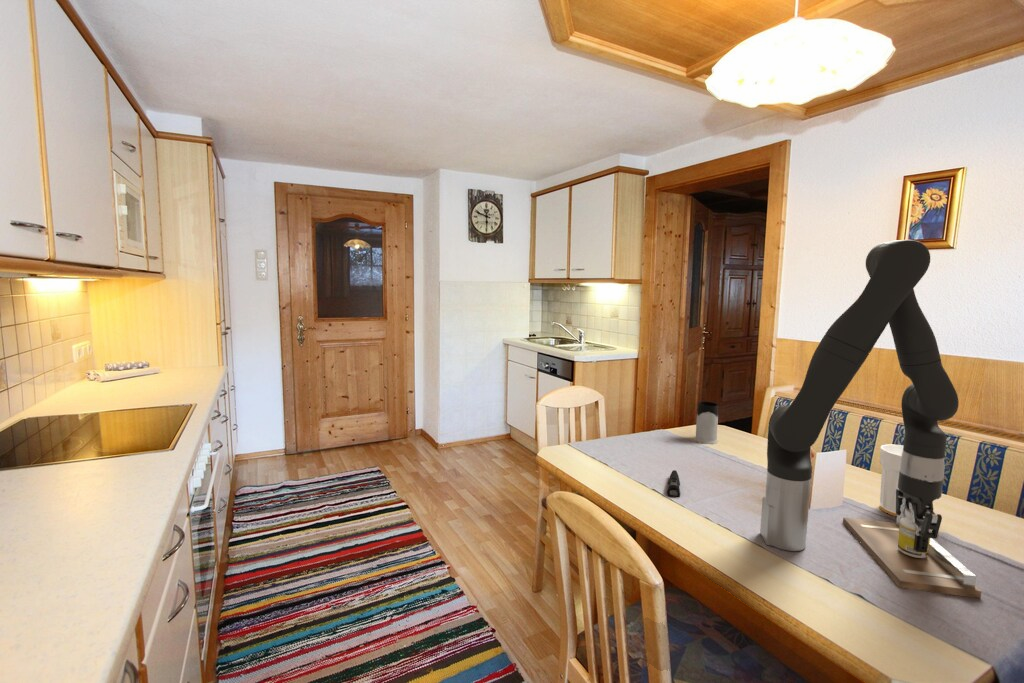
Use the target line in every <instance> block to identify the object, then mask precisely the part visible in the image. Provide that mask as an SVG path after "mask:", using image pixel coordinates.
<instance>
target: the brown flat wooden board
mask: <svg viewBox="0 0 1024 683" xmlns="http://www.w3.org/2000/svg"><path fill="white" fill-rule="evenodd" d="M842 523H843V525H844V526H845V527H846V528H847V529H848V530H849V532H850V533H851V532H852V533H853V534H852V533H851V534H852V535H853V536H854V537H855V538H856V540H857V541H858V540H859V541H860V542H861V543H860V542H859V541H858V542H859V543H860V545H862V546H863V547H864V549H865V550H866V551H867V552H868V553H869V555H871V556H873V559H874V560H875V562H877V564H878V565H879V566H880V567H881V568H882V570H884V571H885V573H886V572H887V573H886V574H887V575H888V576H889V577H890V579H891V580H892V581H893V582H894V583H895V584H896V586H898V587H899V588H901V589H907V588H908V589H909V590H915V589H916V591H922V590H923V591H925V592H930V591H931V592H930V593H938V594H947V595H954V596H960V597H969V598H977V599H981V597H982V590H981V589H980V588H979V587H977V586H976V585H975V588H972V587H964V586H962V585H961V584H960V583H959V582H958V581H957V580H956V579H955V578H954V577H953V576H952V575H950V574H949V573H948V572H947V571H946V570H945V569H944V568H943V567H942V566H941V565H939V564H938V563H937V562H936V561H935V560H934V559H933V558H932V557H931V556H930V555H929V554H928V556H927V557H926V558H915V557H912V556H909V555H906V554H904V553H902V552H901V551H900V550H899V549H898V537H899V527H898V526H897V525H896V522H889V521H881V520H871V519H863V518H854V517H843V518H842Z"/></svg>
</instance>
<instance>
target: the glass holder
mask: <svg viewBox="0 0 1024 683" xmlns="http://www.w3.org/2000/svg"><path fill="white" fill-rule="evenodd" d="M718 412H719V404H718V403H716V402H712V401H699V402H697V412H696V413H697V414H696V425H695V427H696V428H695V436H694V441H695V442H698V443H700V444H705V445H715V444H718V442H719V440H718V425H719V424H718V423H719V422H718V420H719V415H718V414H719V413H718Z"/></svg>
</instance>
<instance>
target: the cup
mask: <svg viewBox="0 0 1024 683" xmlns="http://www.w3.org/2000/svg"><path fill="white" fill-rule="evenodd" d="M903 447H904V444H902V445H901V444H883V445H880V454H879V455H880V457H879V464H880V465H881V478H880V480H881V481H880V495H879V496H880V497H879V506H878V507H879V510H881V511H882V512H884V513H885V514H887V513H888V515H889V516H890V515H891V516H892V515H893V517H895V516H897V514H896V489H898V479H899V470H900V461H901V456H902V453H903ZM901 506H902V505H901ZM899 516H900V515H899Z"/></svg>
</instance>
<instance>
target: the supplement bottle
mask: <svg viewBox="0 0 1024 683" xmlns="http://www.w3.org/2000/svg"><path fill="white" fill-rule="evenodd" d="M917 520H918V521H922V522H923V521H924V519H917ZM920 528H921V529H922V525H921V526H920ZM915 534H916V531H915V525H914V524H913V523H912V517H911V511H910V510H909V509H908V508H906V509H905V517H902V518H901V519H900V527H899V537H898V549H899V550H900V551H901V552H902V553H904V554H906V555H909V556H912V557H915V558H926V557H927V556H928V552H929V543H930V538H929V540H928V548H927V552H926V553H923V552H917V551H916V550H914V541H915Z"/></svg>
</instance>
